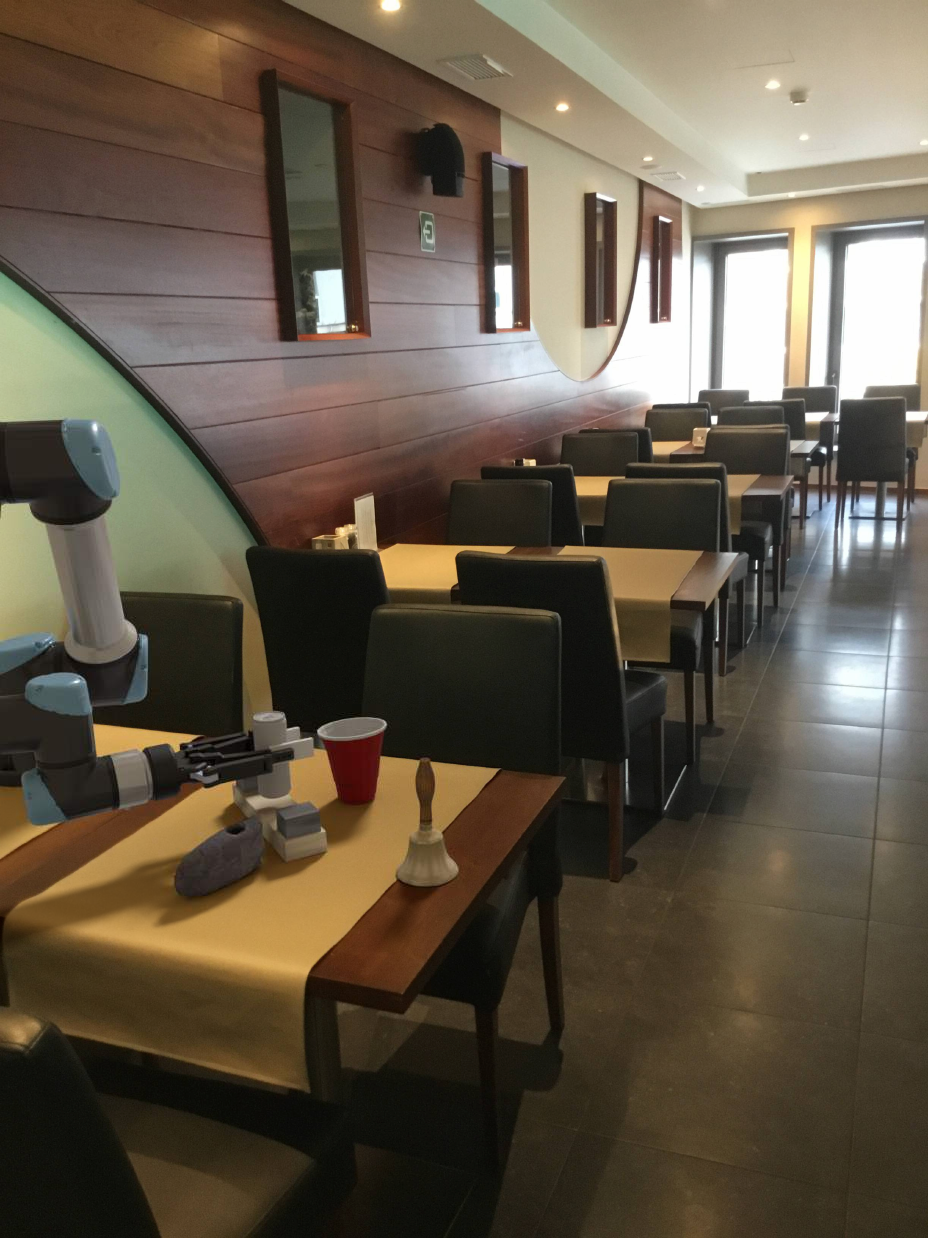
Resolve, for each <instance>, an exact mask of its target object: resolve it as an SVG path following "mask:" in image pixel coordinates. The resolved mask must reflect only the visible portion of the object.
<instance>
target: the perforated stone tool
mask: <svg viewBox="0 0 928 1238" xmlns="http://www.w3.org/2000/svg"><path fill="white" fill-rule="evenodd" d="M262 830H263V826H262V822H261V820H259V819H257V818H256V817H255V816H251V817H249V818H247V817H246V818H243V819H242V820H239V821H236V822H234V823H232V824H230V825H228V826H226V827H224V828H222V829H220V830H219V831H217V832H215V833H213V834H212V835H211V836H209V837H207V838H206V839H205V840H204V841H202V842H201V843H200V844H198V845H197V846H195V848H193V849H192V850H191V851H190V852H188V854H186V856H185V857H184V858H183V859H182V860H181V862H180V863H179V865H178V866H177V868H176V871H175V874H174V876H173V887H174V889H175V892H176V893H177V894H178V895H179V896H181V897H185V898H195V897H200V896H204V895H206V894H209V893H213V892H214V891H215V890H218V889H221V888H224V887H226V886H228V885H230V884H231V883H234V882H237V881H238V880H241V879H242V878H244V877H245V876H246V875H248V874H249V873H251V871H253V870H254V869H256V868H258V867H260V866H261V865H262V864H263V861H262V860H263V857H264V853H265V850H266V848H265V840H264V836H263V834H262Z"/></svg>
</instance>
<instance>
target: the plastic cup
mask: <svg viewBox="0 0 928 1238" xmlns="http://www.w3.org/2000/svg"><path fill="white" fill-rule="evenodd" d="M387 726H388V723H387V722H386V721H385V720H384V719H381V718H377V717H376V718H375V717H367V716H366V717H353V718H352V717H351V718H344V719H340V720H336V721H332V722H329V723H326V724H324V725H322V726H320V727H319V728H318V729H317V730H316V731H317V735H318V737H319V738H320V740H321V741H322V744H323V746H324V749H325V751H326V754H327V759H328V763H329V767H330V770H331V775H332V778H333V782H334V785H335V788H336V789H335V790H336V794H337V797H338V798H339V801H340V803H341V802H342V803H343V804H347V805H362V804H366V803H369V802H371V801H372V800H374V799H375V797H376V793H377V789H378V787H377V785H378V778H379V774H380V765H381V758H382V756H381V755H382V746H383V742H384V741H383V740H384V739H383V738H384V735H385V730H386V728H387Z"/></svg>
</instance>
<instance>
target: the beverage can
mask: <svg viewBox="0 0 928 1238" xmlns="http://www.w3.org/2000/svg"><path fill="white" fill-rule="evenodd" d="M252 719H253V720H252V730H253V735H254V746H255V751H259V750H266V749H269V747H268V746H272V745H277V744H282V743H286V742H288V738H287V729H288V728H287V727H288V725H287V718H286V715H285V713H284V712H283V711H277V710H268V711H262V712H257V713H256V714H254V715H253V717H252ZM272 766H273V772H272V773H268V774H263V775H259V776H257V779H258V791H259V794H260V795H261V796H262V797H264V798H268V799H276V798H280V797H284V796H286V795H287V794H288V795H289V794H290V792H291V790H292V778H291V777H292V776H291V769H290V766H291V765H290V762H286V763H281V764H277V765H272Z"/></svg>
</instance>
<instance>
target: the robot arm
mask: <svg viewBox="0 0 928 1238" xmlns="http://www.w3.org/2000/svg"><path fill="white" fill-rule="evenodd" d="M117 463H118V461H117V457H116V453H115V450H114V446H113V444H112V441H111V438H110V436H109V434H108V432H107V430H106V429H105V427H104V425H102V424H101V423H100V422H99V421H97V420H95V419H88V418H85V419H80V418H78V419H76V418H73V417H66V418H63V419H49V420H48V419H47V420H43V419H42V420H17V421H16V420H15V421H0V519H1V518H2V506H3V505H8V504H9V505H15V504H29V505H28V506H29V509H30V513H31V515H32V516H33V518H34V519H35V520H37V521H38V522H40V523H41V524H44V525H45V528H46V529H45V530H46V532H47V533H46V534H47V537H48V542H49V545H50V549H51V554H52V558H53V563H54V566H55V571H56V574H57V579H58V583H59V587H60V591H61V595H62V596H61V597H62V599H63V603H64V608H65V612H66V616H67V621H68V625H69V628H70V629H69V631H68V632H67V634H66V636H65V638H64V641H57V637H56V636H55V635H54V634H53V633H52V632H33V633H27V634H22V635H18V636H15V637H11V638H7V639H5V640H2V641H0V785H1V786H7V787H8V786H9V787H10V786H11V787H14V786H15V787H17V786H18V787H19V786H21V790H22V796H23V803H24V809H25V811H26V817H27V819H28V821H29V823H31V825H33V826H35V827H43V826H48V825H54V824H60V823H61V824H62V823H69V822H71V821H75V820H79V819H83V818H87V817H91V816H95V815H99V814H104V813H108V812H111V811H117V810H121V809H124V810H125V811H129V810H131V808H132V807H135V806H139V805H143V804H147V803H148V801H149V800H151V801H153V802H158V801H163V800H167V799H172V798H176V797H178V796H179V795H180V793H181V787H182V785H183V784H191V783H192V784H196V783H203V789H212V788H214V787H217V786H218V785H219V786H220V785H222V784H227V783H230V782H236V780H241V779H245V778H250V777H254V776H259V775H263V774H268V773H272V772H273V766H272V765H277V764H281V763H286V762H289V763H291V762H294V761H295V762H296V761H299V760H305V759H307V758H313V757H315V749H314V748H315V745H314V738H313V737H310V736H309V737H308V738H307V737H306V738H301V729H300V727H299V726H294V727H290V728H287V738H288V742H286V743H282V744H277V745H272V746H268V747H269V749H266V750H259V751H255V746H254V735H253V729H249V730H247V732H245V731H241V732H237V733H232V734H227V735H223V736H218V737H212V738H208V739H207V738H206V739H203V740H198V741H197V740H196V741H191V742H181V743H179V751H176V752H175V750H174V748H173V746H172V745H171V744H169V743H161V744H157V745H150V746H147V747H146V746H145V747H144V748H143V749H142V751H141V750H139V749H138V748H135V749H128V750H124V751H121V752H120V751H119V752H116V753H110V754H105V755H101V756H98V754H97V745H96V738H95V737H96V736H95V729H94V727H95V726H94V721H93V719H94V718H93V708H95V707H106V706H107V707H108V706H116V705H120V706H123V705H126V704H131V703H136V702H140V701H142V700H144V699H145V698H146V696H147V693H148V668H149V667H148V662H149V661H148V658H149V648H148V647H149V640H148V639H149V637H148V636H147V635H146V634H142V633H137V629H136V627H135V626H134V624H132V623H131V622H130V621H128V619H125V615H124V610H123V603H122V599H121V594H120V589H119V583H118V579H117V578H118V577H117V572H116V567H115V562H114V557H113V553H112V552H113V551H112V548H111V547H112V546H111V541H110V537H109V532H108V525H107V521H106V516H105V515H106V514H107V513H108V512H109V511H110V510H111V508H112V505H113V499H115V498H117V497H118V496H119V495H120V491H121V480H120V472H119V468H118V465H117Z"/></svg>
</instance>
